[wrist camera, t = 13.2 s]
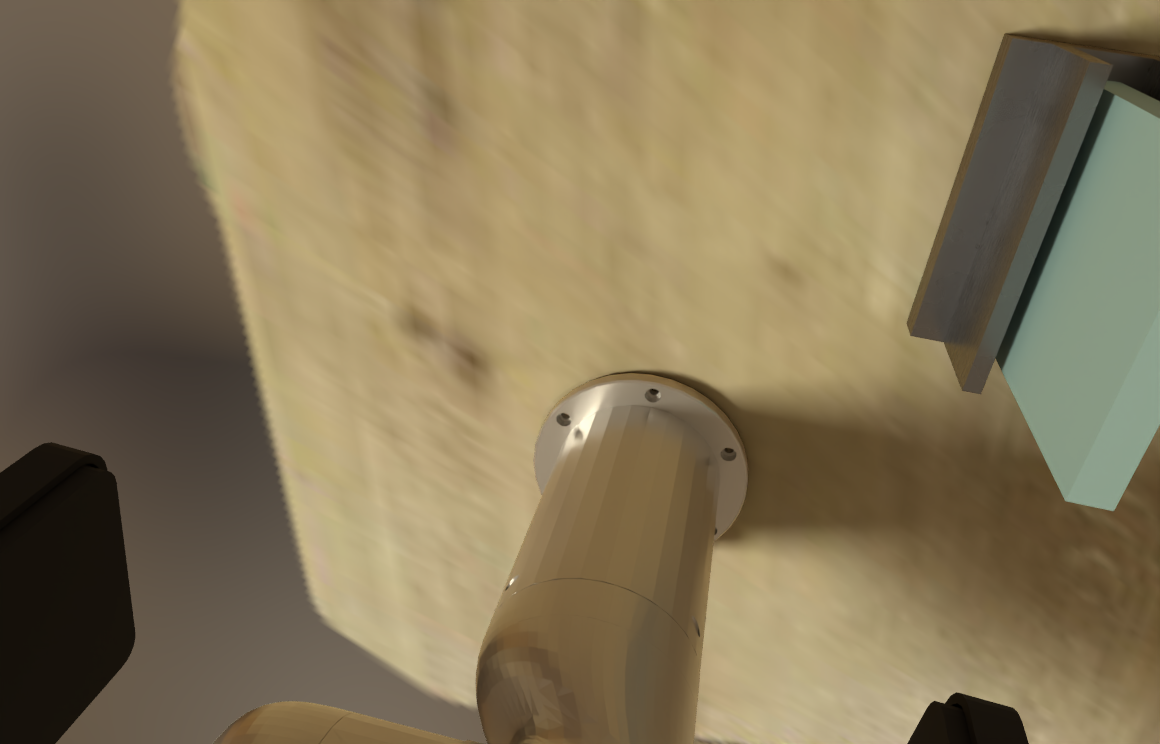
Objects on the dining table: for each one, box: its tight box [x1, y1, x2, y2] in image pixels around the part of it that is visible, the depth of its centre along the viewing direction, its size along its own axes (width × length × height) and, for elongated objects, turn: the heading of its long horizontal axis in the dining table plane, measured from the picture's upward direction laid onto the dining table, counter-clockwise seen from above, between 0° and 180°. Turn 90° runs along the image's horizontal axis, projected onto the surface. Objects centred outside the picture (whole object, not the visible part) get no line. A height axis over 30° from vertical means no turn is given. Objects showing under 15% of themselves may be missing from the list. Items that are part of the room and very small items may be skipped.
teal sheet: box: [996, 80, 1160, 511], centre depth 33 cm, size 12×2×14 cm, turn 173°
